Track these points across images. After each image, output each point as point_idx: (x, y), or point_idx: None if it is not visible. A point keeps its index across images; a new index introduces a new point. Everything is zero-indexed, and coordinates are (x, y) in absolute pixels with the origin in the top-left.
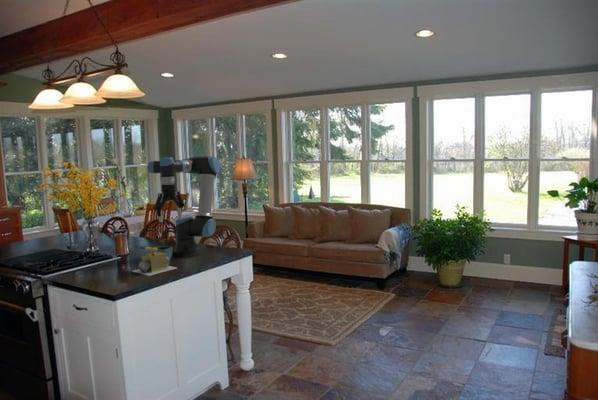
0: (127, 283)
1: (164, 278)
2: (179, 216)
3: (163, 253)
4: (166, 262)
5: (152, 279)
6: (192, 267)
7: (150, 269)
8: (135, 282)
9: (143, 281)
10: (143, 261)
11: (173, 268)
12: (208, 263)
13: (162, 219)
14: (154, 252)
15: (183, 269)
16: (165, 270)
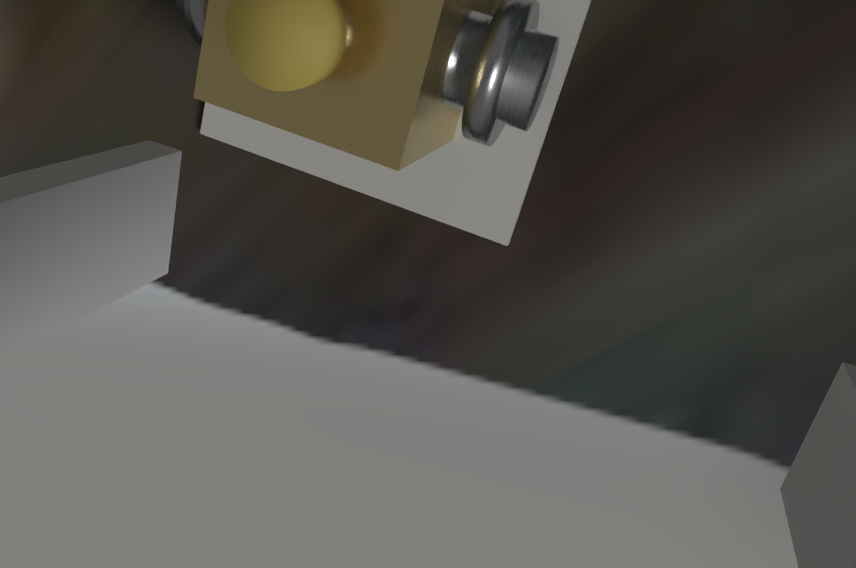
0: (9, 79)
1: (217, 299)
2: (821, 476)
3: (381, 144)
4: (432, 151)
5: None
6: (598, 355)
7: None
8: (52, 128)
9: None
10: (184, 6)
11: (476, 207)
12: (795, 445)
13: (116, 292)
14: None
15: (507, 305)
16: (388, 171)
